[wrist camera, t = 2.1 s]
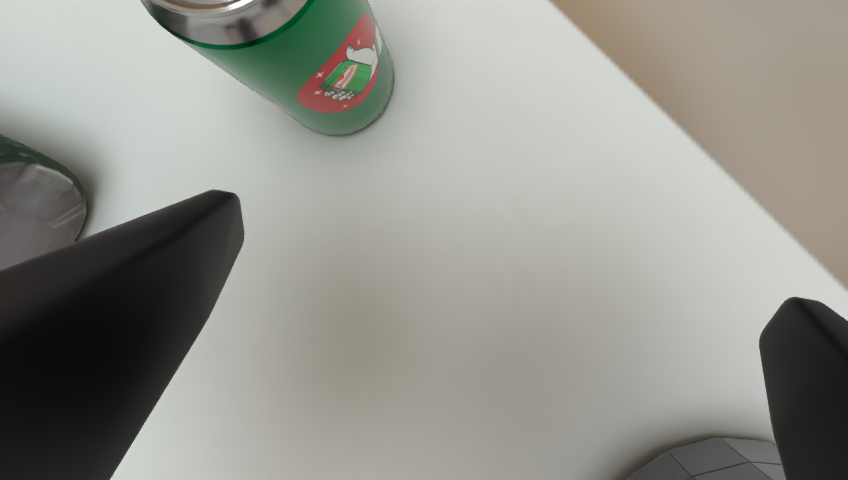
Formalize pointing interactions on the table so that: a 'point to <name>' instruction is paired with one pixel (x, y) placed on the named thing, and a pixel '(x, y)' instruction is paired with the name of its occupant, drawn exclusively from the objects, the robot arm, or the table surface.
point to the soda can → (293, 54)
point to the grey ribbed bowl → (716, 462)
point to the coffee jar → (36, 204)
